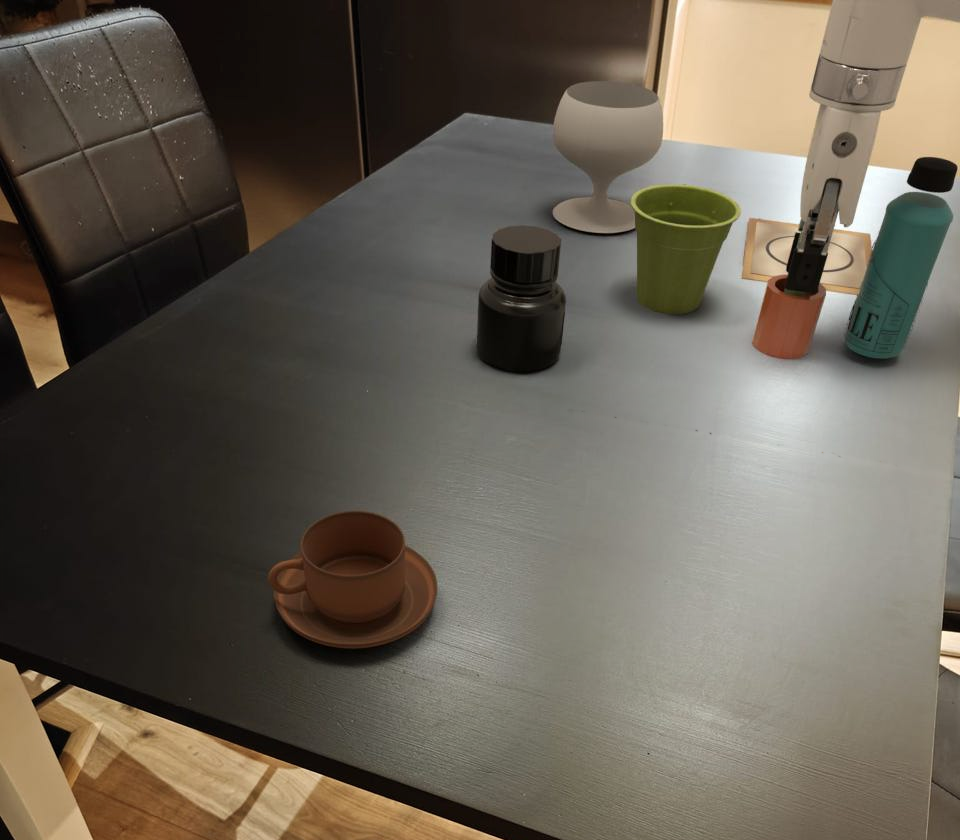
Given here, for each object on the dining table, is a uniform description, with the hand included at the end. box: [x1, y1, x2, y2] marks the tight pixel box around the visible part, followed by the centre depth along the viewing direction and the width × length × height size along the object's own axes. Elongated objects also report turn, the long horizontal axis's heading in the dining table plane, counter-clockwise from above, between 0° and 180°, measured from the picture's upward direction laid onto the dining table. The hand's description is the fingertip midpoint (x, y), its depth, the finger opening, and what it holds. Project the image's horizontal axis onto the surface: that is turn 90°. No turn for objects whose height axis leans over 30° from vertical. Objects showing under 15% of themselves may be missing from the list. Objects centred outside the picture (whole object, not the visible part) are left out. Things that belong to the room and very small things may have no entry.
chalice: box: [552, 80, 664, 234], centre depth 121 cm, size 14×14×15 cm
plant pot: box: [630, 183, 742, 315], centre depth 105 cm, size 12×12×11 cm
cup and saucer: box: [267, 510, 438, 649], centre depth 68 cm, size 12×12×6 cm
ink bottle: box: [476, 224, 567, 372], centre depth 95 cm, size 10×9×12 cm
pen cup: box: [751, 275, 827, 360], centre depth 99 cm, size 6×6×7 cm
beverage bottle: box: [843, 156, 958, 359], centre depth 94 cm, size 6×7×20 cm
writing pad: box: [741, 217, 873, 296], centre depth 119 cm, size 16×20×1 cm
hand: (801, 280), depth 97 cm, fingers open, 3 cm apart
